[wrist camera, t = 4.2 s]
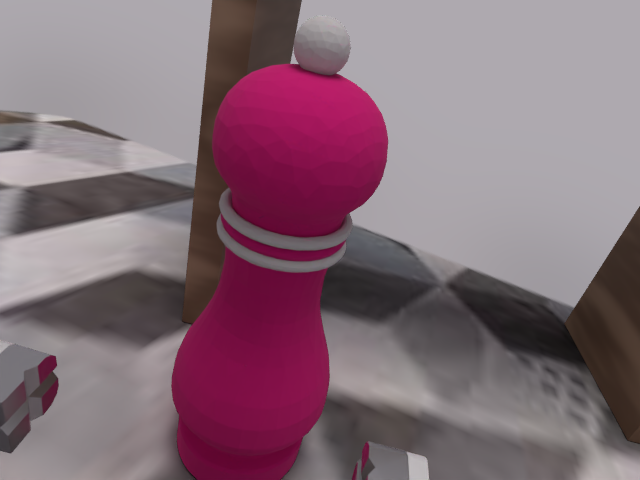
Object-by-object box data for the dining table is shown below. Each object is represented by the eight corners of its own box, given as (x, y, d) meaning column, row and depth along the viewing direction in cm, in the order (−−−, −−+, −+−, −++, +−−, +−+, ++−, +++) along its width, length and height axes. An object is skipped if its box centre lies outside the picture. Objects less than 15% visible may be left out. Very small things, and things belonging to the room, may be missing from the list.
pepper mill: (231, 362, 28) (294, -1, 18) (332, 428, 25) (469, 49, 15) (133, 444, 22) (148, -26, 12) (251, 541, 19) (391, 48, 10)
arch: (181, 321, 30) (243, -323, 15) (235, 236, 40) (301, -193, 26) (657, 448, 29) (1161, -88, 15) (586, 329, 40) (845, -53, 26)
